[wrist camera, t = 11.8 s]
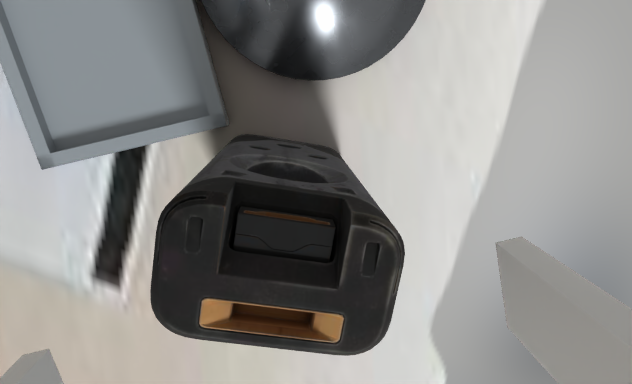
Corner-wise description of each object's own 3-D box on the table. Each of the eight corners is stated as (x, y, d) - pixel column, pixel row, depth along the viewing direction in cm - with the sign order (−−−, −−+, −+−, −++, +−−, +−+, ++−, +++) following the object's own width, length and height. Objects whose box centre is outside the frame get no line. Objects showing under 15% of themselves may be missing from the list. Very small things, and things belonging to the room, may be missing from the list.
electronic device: (346, 148, 36) (416, 223, 16) (333, 219, 37) (384, 366, 18) (229, 130, 35) (157, 185, 16) (219, 203, 36) (143, 339, 17)
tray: (52, 165, 35) (41, 169, 33) (-32, -58, 31) (-49, -65, 29) (229, 123, 35) (226, 125, 33) (166, -104, 31) (160, -114, 30)
